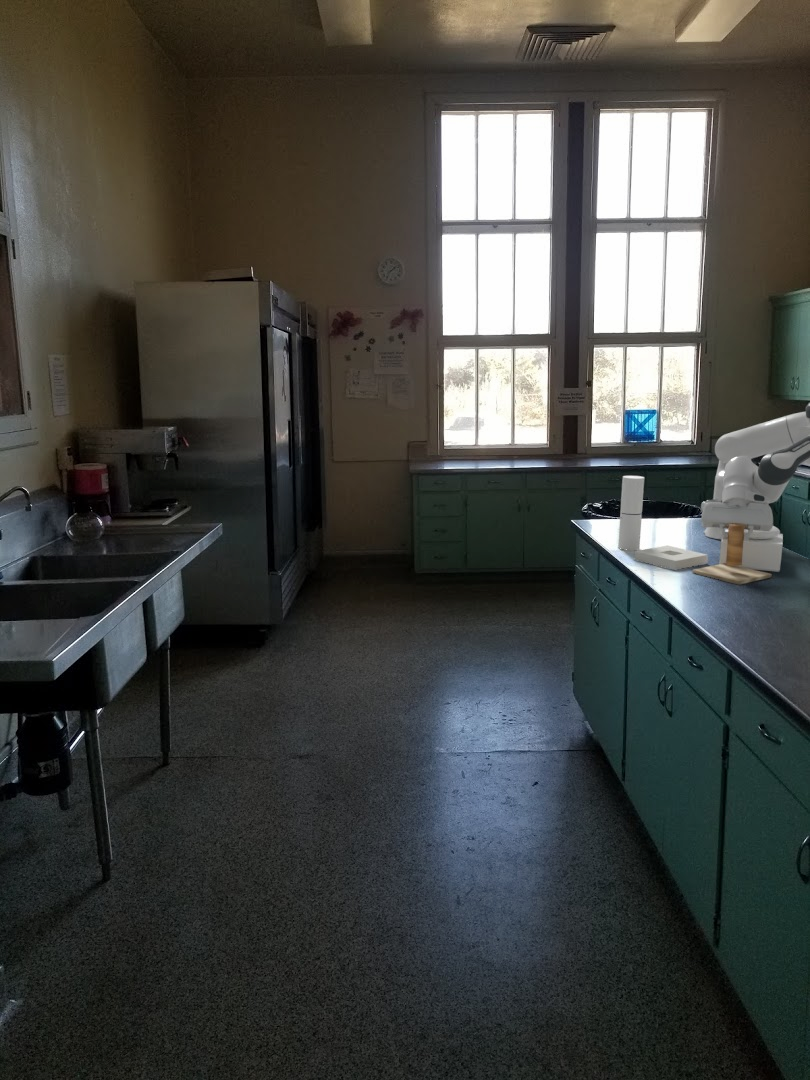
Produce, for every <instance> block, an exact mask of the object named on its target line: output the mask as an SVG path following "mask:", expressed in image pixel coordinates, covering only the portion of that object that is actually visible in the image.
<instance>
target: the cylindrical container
mask: <svg viewBox="0 0 810 1080" xmlns="http://www.w3.org/2000/svg"><path fill="white" fill-rule="evenodd" d="M621 482H622V483H621V498H620V512H619V513H620V516H619V530H618V545H617V548H618V549H619V548H621V549H620V550H622V549H627V550H626V551H628V550H635V551H638V550H637V549H639V550H640V545H641V544H640V543H641V533H642V532H641V531H642V529H641V528H642V517H643V513H642V512H643V503H644V499H643V498H644V486H645V476H640V475H623V476H622V481H621Z"/></svg>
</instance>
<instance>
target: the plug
mask: <svg viewBox="0 0 810 1080" xmlns="http://www.w3.org/2000/svg"><path fill="white" fill-rule="evenodd" d="M744 526H745V525H742V524H729V527H728V542H727V556H726V564H727V565H732V566H740V565H742V554H743V540H744Z"/></svg>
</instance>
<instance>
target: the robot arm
mask: <svg viewBox="0 0 810 1080" xmlns="http://www.w3.org/2000/svg"><path fill="white" fill-rule="evenodd" d="M714 454H715V456H716V457H717V459H718V466H717V469H716V474H715V477H714V489H713V498H712V499H707V500H706V501H703V502H701V504H700V510H701V512H702V513H701V519H700V525H701V526H702V527H703V528H705V529H704V530H703V534H705V536H706V537H707V538H711V539H714V540H715V539H716V540H720V541H722V539H728V532H725V530H726V529H728V527H729V524H742V525H745V526H744V530H748V532H747V533H744V540H743V541H749V536H750V535H751V534H752V533H753V530H758V531H770V530H771V529H772V527H773V526H774V516H773V510H772V508H771V506H770V505H769V504H773V503H775V502H777V501H778V500H779V499H780V497H781V495H782V494H783V493H784V491H785V489H786V488H787V485H788V484H789V482H790V480H791V479H792V478H793V476H794V475H795V473H796V471H797V469H798V467H799V466H801V465H802V464H805V465H806V466H808V467H810V402H808V404H807V405H806V406H805V411H800V412H797V413H795V412H794V413H792V414H788V415H784V416H782V417H778V418H775V419H771V420H769V421H765V422H762V423H761V422H760V423H758V424H755V425H752V426H748V427H746V428H745V427H744V428H742V429H738V430H735V431H732V432H729V433H725V434H723V435H722V436H720V437H719V438H718V440H717V441H716V442H715V445H714ZM761 456H762V458H761V460H760V462H759V463H758V464H759V465H756V463H754V462H753V461H752V459H755V458H758V457H761Z"/></svg>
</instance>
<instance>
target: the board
mask: <svg viewBox="0 0 810 1080" xmlns="http://www.w3.org/2000/svg"><path fill="white" fill-rule="evenodd" d="M692 572H693V573H692V574H695V573H696V574H695V575H699V576H703V577H706V576H707V578H710V577H711V578H710V579H714V578H715V580H718V579H719V580H718V581H723V582H726V583H730V584H735V585H743V584H748V583H752V582H756V581H760V580H765V579H769V578H772V573H768V572H764V571H762V570H756V569H748V568H744V567H739V566H732V565H727V564H726V563H724V564H719V563H718V564H715V565H710V566H703V567H701V568H700V567H699V568H694V569H692Z"/></svg>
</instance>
